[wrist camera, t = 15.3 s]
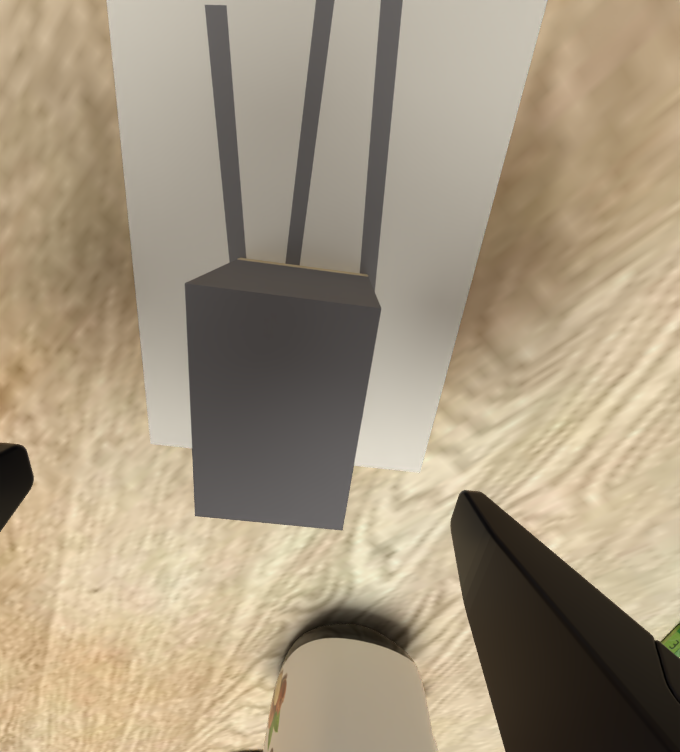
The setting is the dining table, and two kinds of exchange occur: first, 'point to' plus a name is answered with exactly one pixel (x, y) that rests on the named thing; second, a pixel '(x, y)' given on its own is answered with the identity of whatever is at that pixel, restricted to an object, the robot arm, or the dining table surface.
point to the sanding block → (277, 389)
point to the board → (318, 171)
